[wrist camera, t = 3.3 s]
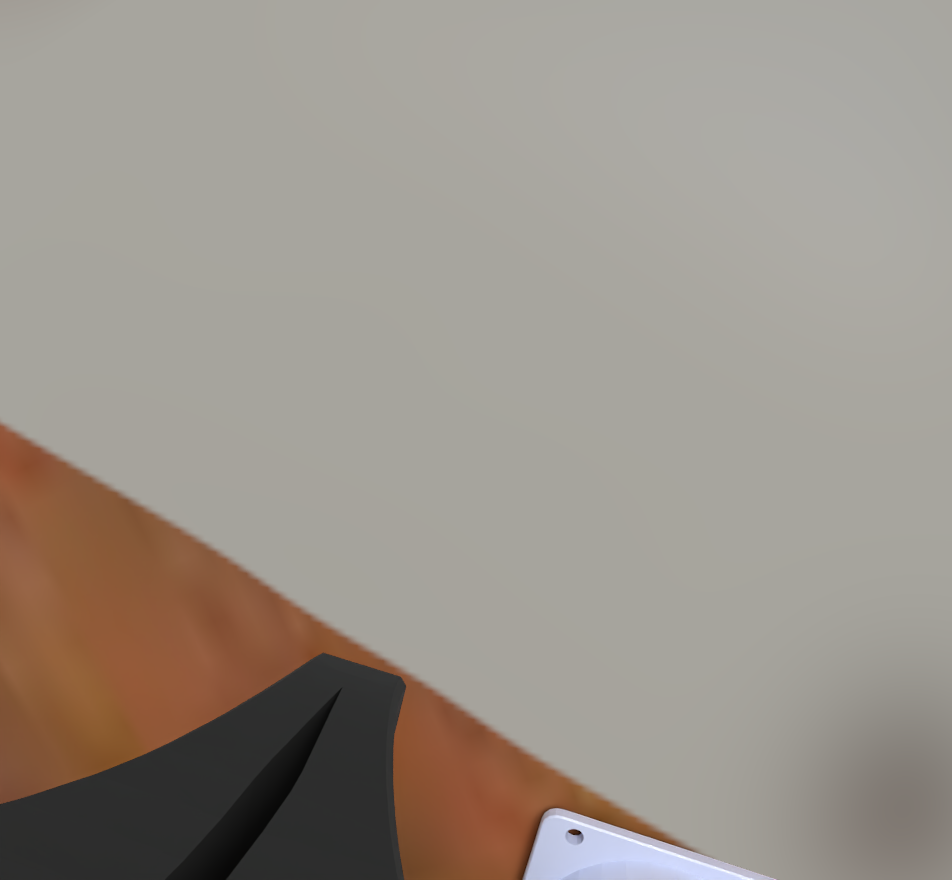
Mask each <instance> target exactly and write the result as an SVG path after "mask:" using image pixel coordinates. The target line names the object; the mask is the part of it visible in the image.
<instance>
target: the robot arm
mask: <svg viewBox="0 0 952 880" xmlns="http://www.w3.org/2000/svg"><path fill="white" fill-rule="evenodd" d="M405 689H406V685H405V683H404V682H403V680H402V678H401V677H399V676H396V675H393V674H390V673H387V672H383V671H380V670H377V669H374V668H370V667H367V666H364V665H361V664H358V663H354V662H351V661H348V660H345V659H341V658H338V657H335V656H332V655H329V654H325V653H322V654H320V655H318V656H316V657H315V658H313V659H311V660H310V661H308V662H307V663H305V664H304V665H302V666H301V667H299V668H298V669H296V670H295V671H293V672H292V673H290V674H289V675H287V676H285V677H284V678H282V679H281V680H279V681H278V682H276V683H275V684H273V685H271V686H270V687H268V688H267V689H265V690H264V691H262V692H260V693H259V694H257V695H255V696H254V697H252V698H250V699H249V700H247V701H245V702H244V703H242V704H240V705H238V706H237V707H235V708H233V709H232V710H230V711H228V712H227V713H225V714H223V715H221V716H220V717H218V718H216V719H214V720H212V721H210V722H209V723H207V724H205V725H203V726H201V727H199V728H197V729H195V730H193V731H191V732H189V733H187V734H186V735H184V736H182V737H180V738H178V739H176V740H174V741H172V742H170V743H168V744H166V745H164V746H162V747H160V748H157V749H155V750H153V751H151V752H149V753H147V754H144V755H142V756H140V757H137V758H135V759H133V760H130V761H128V762H125V763H123V764H120V765H118V766H115V767H113V768H111V769H108V770H105V771H103V772H100V773H97V774H95V775H92V776H89V777H86V778H83V779H80V780H77V781H73V782H70V783H67V784H64V785H61V786H58V787H55V788H52V789H49V790H46V791H43V792H40V793H37V794H34V795H31V796H28V797H25V798H21V799H18V800H14V801H11V802H7V803H3V804H0V880H404V877H403V871H402V865H401V859H400V853H399V846H398V838H397V829H396V820H395V807H394V792H393V743H394V733H395V729H396V725H397V721H398V717H399V713H400V709H401V705H402V701H403V697H404V693H405ZM571 829H577V830H579V831H580V832H582V834H580V835H572V834H570V833H569V832H568V830H571ZM522 880H777V879H774V878H771V877H768V876H765V875H762V874H758V873H755V872H753V871H749V870H747V869H744V868H740V867H737V866H734V865H731V864H728V863H725V862H722V861H719V860H716V859H713V858H710V857H707V856H704V855H701V854H698V853H695V852H692V851H689V850H686V849H683V848H680V847H677V846H674V845H671V844H668V843H665V842H662V841H658V840H655V839H652V838H649V837H646V836H643V835H640V834H637V833H634V832H631V831H628V830H625V829H622V828H619V827H616V826H613V825H610V824H607V823H604V822H601V821H598V820H595V819H592V818H589V817H586V816H582V815H579V814H576V813H573V812H570V811H567V810H564V809H559V808H554V809H550V810H548V811H547V812H545V813H544V815H543V816H542V819H541V822H540V825H539V828H538V831H537V835H536V838H535V841H534V844H533V847H532V851H531V854H530V857H529V860H528V863H527V867H526V870H525V873H524V876H523V879H522Z"/></svg>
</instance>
